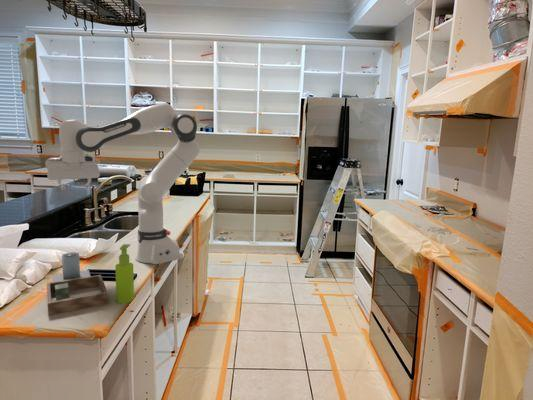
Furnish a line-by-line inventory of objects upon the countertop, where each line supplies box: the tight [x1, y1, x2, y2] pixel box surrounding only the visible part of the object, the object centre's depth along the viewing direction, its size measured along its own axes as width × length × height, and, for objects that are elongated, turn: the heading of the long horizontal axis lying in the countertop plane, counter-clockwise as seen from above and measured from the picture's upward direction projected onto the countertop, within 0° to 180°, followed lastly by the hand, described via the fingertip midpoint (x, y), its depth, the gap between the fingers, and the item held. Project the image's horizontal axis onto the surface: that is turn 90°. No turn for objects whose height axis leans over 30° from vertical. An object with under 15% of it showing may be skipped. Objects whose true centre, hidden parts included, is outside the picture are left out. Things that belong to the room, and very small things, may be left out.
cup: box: [61, 251, 81, 279], centre depth 142 cm, size 6×6×9 cm
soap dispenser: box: [115, 243, 135, 304], centre depth 128 cm, size 6×7×20 cm
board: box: [52, 269, 91, 282], centre depth 143 cm, size 13×9×2 cm
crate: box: [46, 274, 109, 316], centre depth 128 cm, size 18×18×4 cm
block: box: [54, 283, 70, 301], centre depth 129 cm, size 4×4×4 cm
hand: (75, 189), depth 158 cm, fingers open, 8 cm apart
